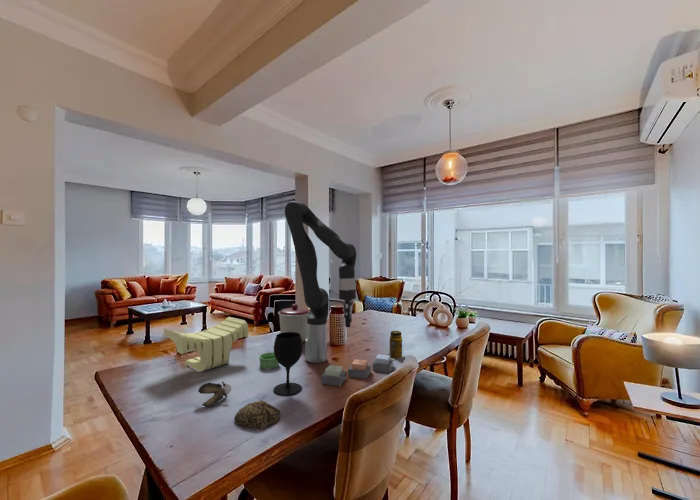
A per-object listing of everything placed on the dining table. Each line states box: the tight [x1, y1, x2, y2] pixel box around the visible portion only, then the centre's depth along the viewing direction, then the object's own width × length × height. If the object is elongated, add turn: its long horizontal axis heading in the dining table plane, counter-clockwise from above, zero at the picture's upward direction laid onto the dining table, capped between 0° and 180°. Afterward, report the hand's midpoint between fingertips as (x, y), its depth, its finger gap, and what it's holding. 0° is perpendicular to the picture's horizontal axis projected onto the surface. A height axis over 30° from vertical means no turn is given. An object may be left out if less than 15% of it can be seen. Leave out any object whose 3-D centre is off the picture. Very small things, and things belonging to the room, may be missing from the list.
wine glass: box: [272, 332, 304, 397], centre depth 114 cm, size 10×10×20 cm
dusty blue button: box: [375, 354, 390, 365], centre depth 136 cm, size 5×5×3 cm
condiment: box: [386, 330, 405, 361], centre depth 151 cm, size 7×8×12 cm
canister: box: [277, 303, 310, 343], centre depth 174 cm, size 18×18×21 cm
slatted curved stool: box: [163, 316, 249, 373], centre depth 137 cm, size 30×16×18 cm, turn 144°
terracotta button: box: [351, 358, 369, 370], centre depth 129 cm, size 5×5×3 cm
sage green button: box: [324, 364, 344, 377], centre depth 122 cm, size 5×5×3 cm
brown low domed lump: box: [233, 400, 281, 430], centre depth 94 cm, size 13×12×5 cm
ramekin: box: [258, 352, 280, 369], centre depth 137 cm, size 9×9×4 cm
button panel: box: [320, 358, 394, 387], centre depth 129 cm, size 11×36×3 cm, turn 123°
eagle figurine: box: [197, 380, 232, 408], centre depth 104 cm, size 8×7×9 cm
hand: (348, 324), depth 138 cm, fingers open, 8 cm apart
